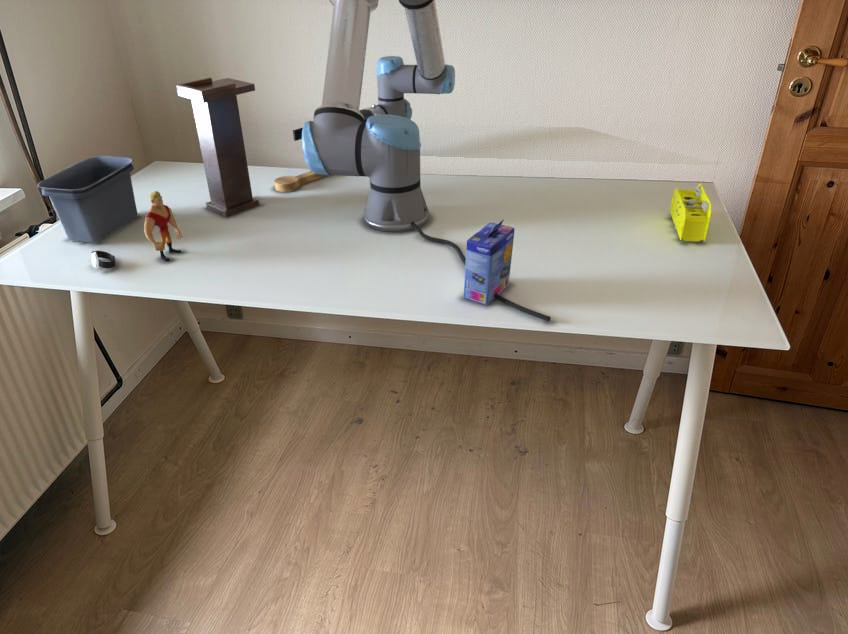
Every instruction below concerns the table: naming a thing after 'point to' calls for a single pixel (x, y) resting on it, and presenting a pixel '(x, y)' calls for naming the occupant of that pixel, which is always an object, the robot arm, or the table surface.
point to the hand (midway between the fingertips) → (309, 140)
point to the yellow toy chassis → (691, 213)
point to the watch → (102, 264)
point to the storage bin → (93, 197)
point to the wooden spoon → (295, 181)
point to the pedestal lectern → (221, 142)
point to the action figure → (160, 224)
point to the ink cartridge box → (488, 262)
